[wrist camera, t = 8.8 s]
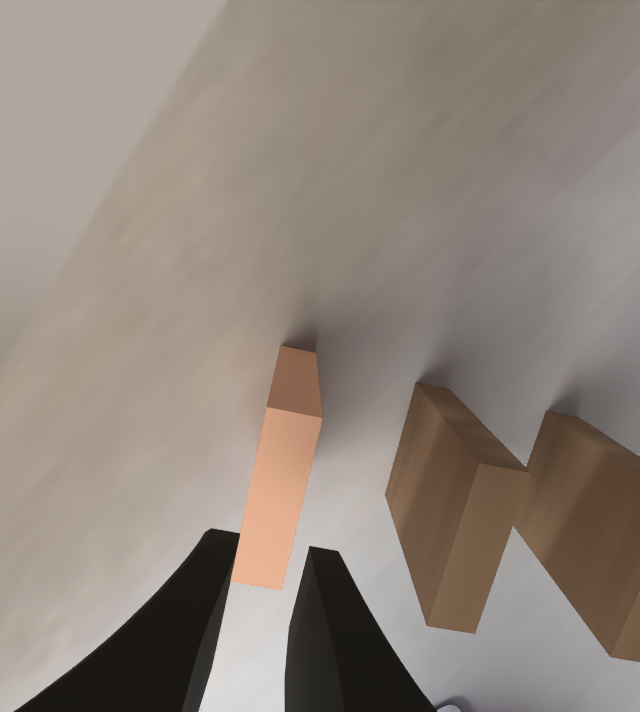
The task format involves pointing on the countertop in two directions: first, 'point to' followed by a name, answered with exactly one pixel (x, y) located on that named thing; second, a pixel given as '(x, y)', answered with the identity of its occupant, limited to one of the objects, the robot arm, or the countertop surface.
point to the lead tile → (280, 471)
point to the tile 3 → (587, 526)
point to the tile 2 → (452, 506)
